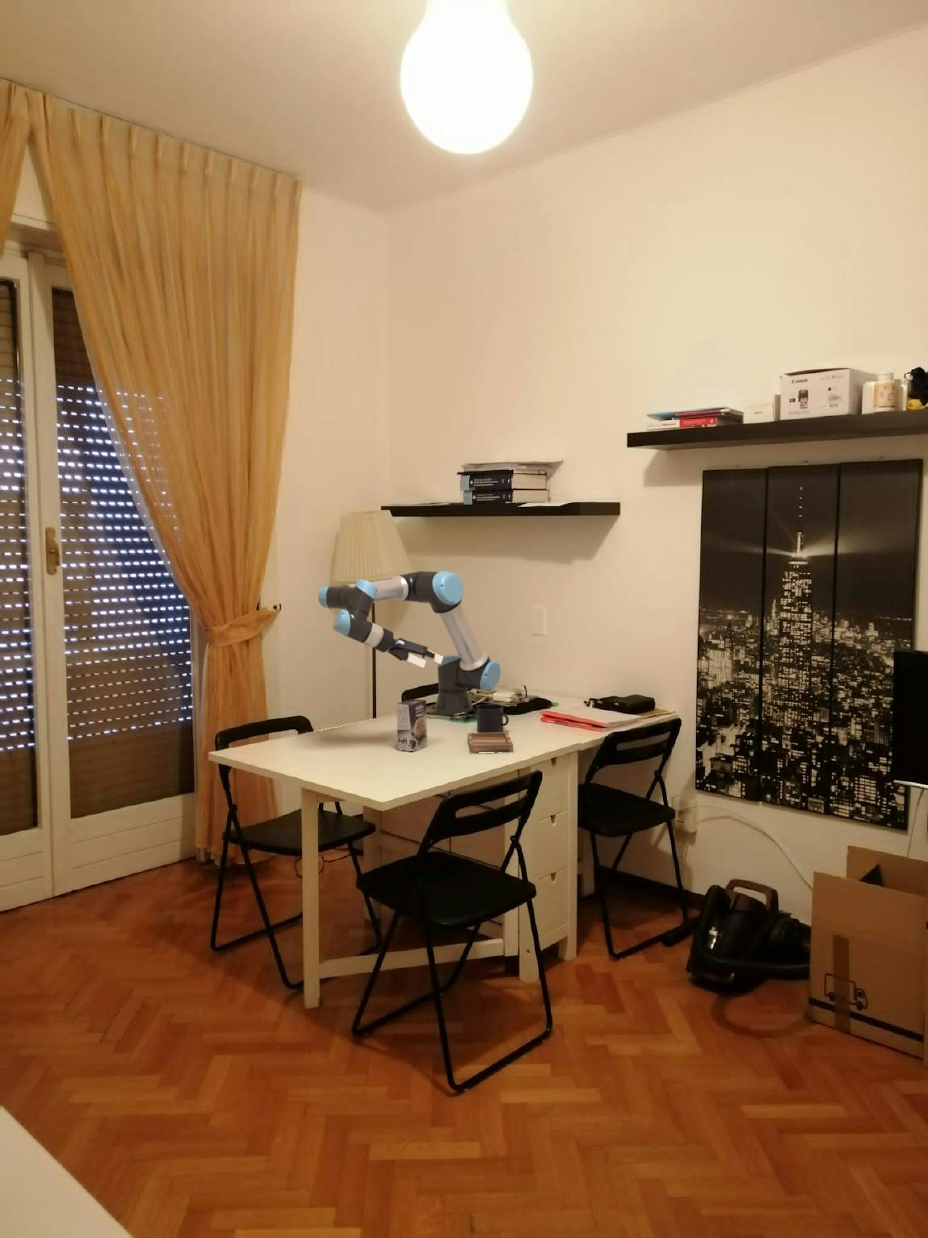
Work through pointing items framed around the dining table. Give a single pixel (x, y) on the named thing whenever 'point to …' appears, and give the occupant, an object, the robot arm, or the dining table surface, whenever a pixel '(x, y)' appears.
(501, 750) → the tray
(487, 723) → the mug
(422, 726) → the coffee box
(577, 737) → the dining table surface
